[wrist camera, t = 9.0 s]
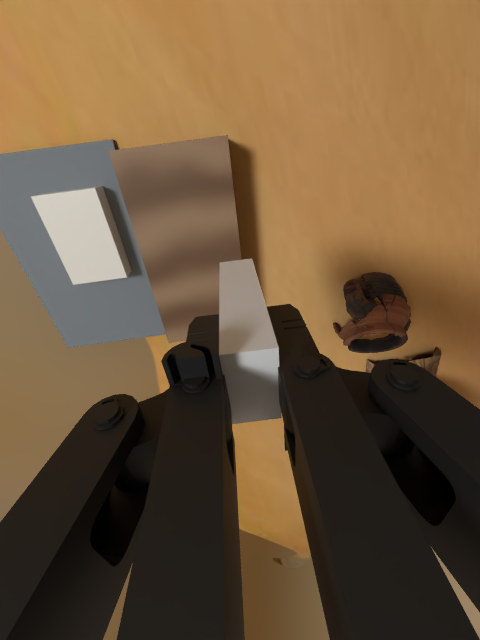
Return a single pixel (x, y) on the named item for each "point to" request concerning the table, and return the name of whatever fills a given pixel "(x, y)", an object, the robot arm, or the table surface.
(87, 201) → the white rectangular block
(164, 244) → the block
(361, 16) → the table surface
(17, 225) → the mat
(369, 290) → the pottery mug
